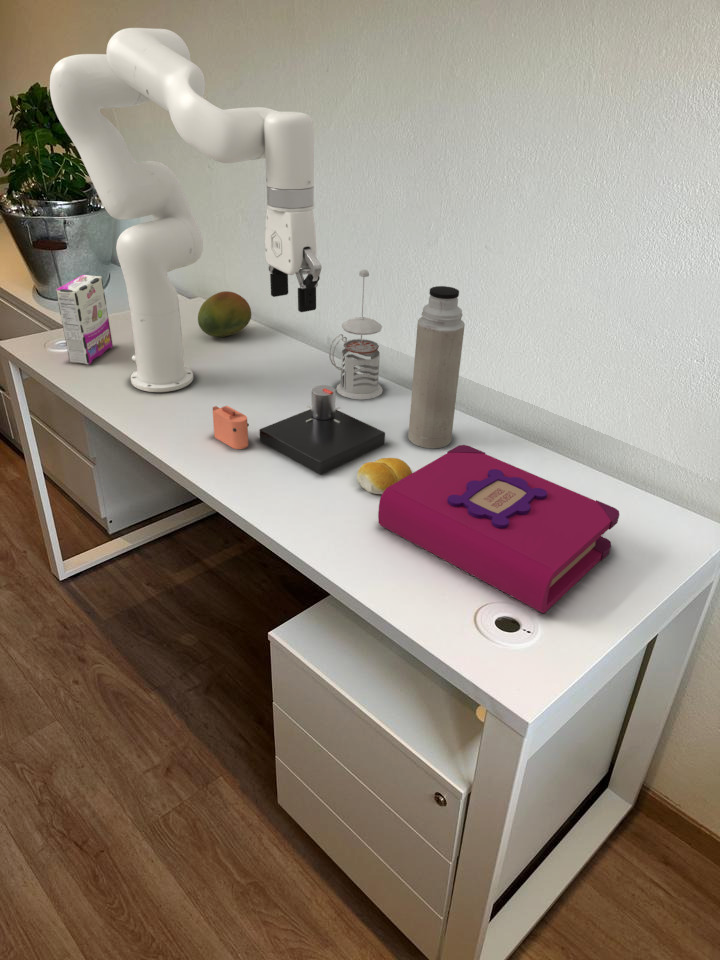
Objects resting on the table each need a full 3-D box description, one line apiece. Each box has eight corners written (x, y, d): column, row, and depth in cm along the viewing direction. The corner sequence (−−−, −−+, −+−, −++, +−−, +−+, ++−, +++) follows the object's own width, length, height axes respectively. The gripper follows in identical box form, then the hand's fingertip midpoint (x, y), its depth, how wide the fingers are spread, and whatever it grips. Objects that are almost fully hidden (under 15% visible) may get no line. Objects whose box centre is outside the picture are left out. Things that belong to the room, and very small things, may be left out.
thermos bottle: (417, 424, 141) (430, 279, 127) (456, 434, 139) (474, 286, 124) (401, 442, 135) (413, 291, 121) (442, 452, 132) (459, 299, 118)
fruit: (257, 330, 182) (256, 290, 177) (235, 347, 171) (233, 305, 166) (215, 323, 185) (212, 284, 179) (190, 340, 174) (186, 298, 169)
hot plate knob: (306, 414, 138) (306, 388, 135) (323, 407, 140) (324, 381, 138) (322, 422, 135) (323, 395, 132) (339, 415, 138) (340, 389, 135)
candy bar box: (93, 344, 169) (82, 273, 161) (113, 347, 169) (103, 275, 160) (67, 363, 160) (54, 288, 151) (88, 365, 159) (76, 290, 151)
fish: (208, 434, 135) (206, 404, 132) (223, 428, 137) (221, 398, 134) (237, 451, 130) (235, 420, 127) (252, 445, 132) (251, 414, 129)
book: (539, 619, 95) (550, 573, 91) (376, 530, 111) (379, 487, 107) (612, 550, 109) (624, 507, 105) (458, 479, 124) (463, 439, 121)
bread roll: (421, 486, 122) (423, 465, 120) (376, 501, 118) (377, 480, 116) (392, 464, 128) (394, 444, 126) (348, 477, 124) (349, 457, 122)
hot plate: (256, 439, 134) (256, 426, 132) (323, 412, 144) (324, 400, 143) (320, 475, 124) (320, 461, 123) (387, 443, 135) (388, 430, 133)
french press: (391, 395, 152) (399, 274, 139) (340, 404, 148) (343, 280, 135) (369, 377, 160) (375, 260, 147) (320, 385, 155) (321, 265, 142)
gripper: (245, 191, 123) (251, 293, 131) (296, 209, 110) (298, 320, 119) (285, 187, 126) (288, 287, 135) (338, 205, 114) (338, 313, 123)
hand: (293, 302), depth 127 cm, fingers open, 9 cm apart
